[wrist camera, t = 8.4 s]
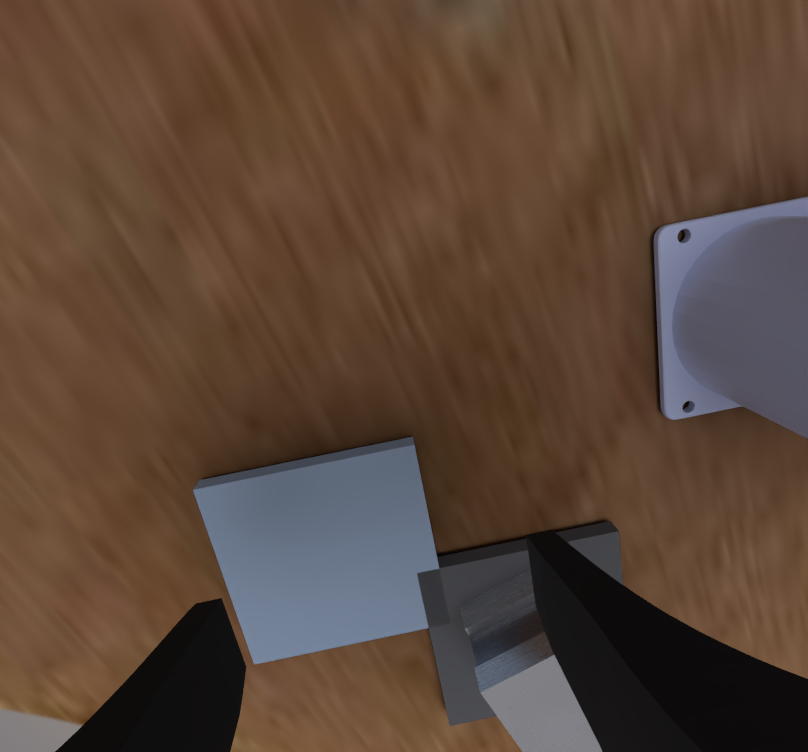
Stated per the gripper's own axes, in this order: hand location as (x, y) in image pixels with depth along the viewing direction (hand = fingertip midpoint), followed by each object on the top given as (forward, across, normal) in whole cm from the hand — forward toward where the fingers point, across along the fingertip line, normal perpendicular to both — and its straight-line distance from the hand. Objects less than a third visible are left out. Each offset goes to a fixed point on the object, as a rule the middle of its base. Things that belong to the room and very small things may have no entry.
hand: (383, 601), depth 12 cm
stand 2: (+10, -5, +11) cm, 16 cm away
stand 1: (+10, +3, +5) cm, 11 cm away
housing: (+9, -5, +11) cm, 15 cm away
